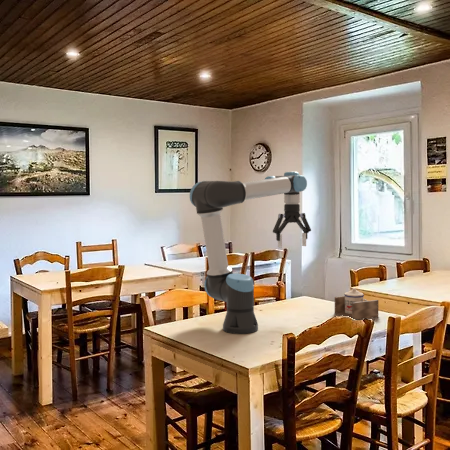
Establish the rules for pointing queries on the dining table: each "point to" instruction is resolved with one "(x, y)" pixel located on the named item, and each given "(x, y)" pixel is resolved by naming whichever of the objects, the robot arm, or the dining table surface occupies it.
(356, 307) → the caddy
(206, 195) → the robot arm
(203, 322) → the dining table surface
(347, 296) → the teacup with lid
